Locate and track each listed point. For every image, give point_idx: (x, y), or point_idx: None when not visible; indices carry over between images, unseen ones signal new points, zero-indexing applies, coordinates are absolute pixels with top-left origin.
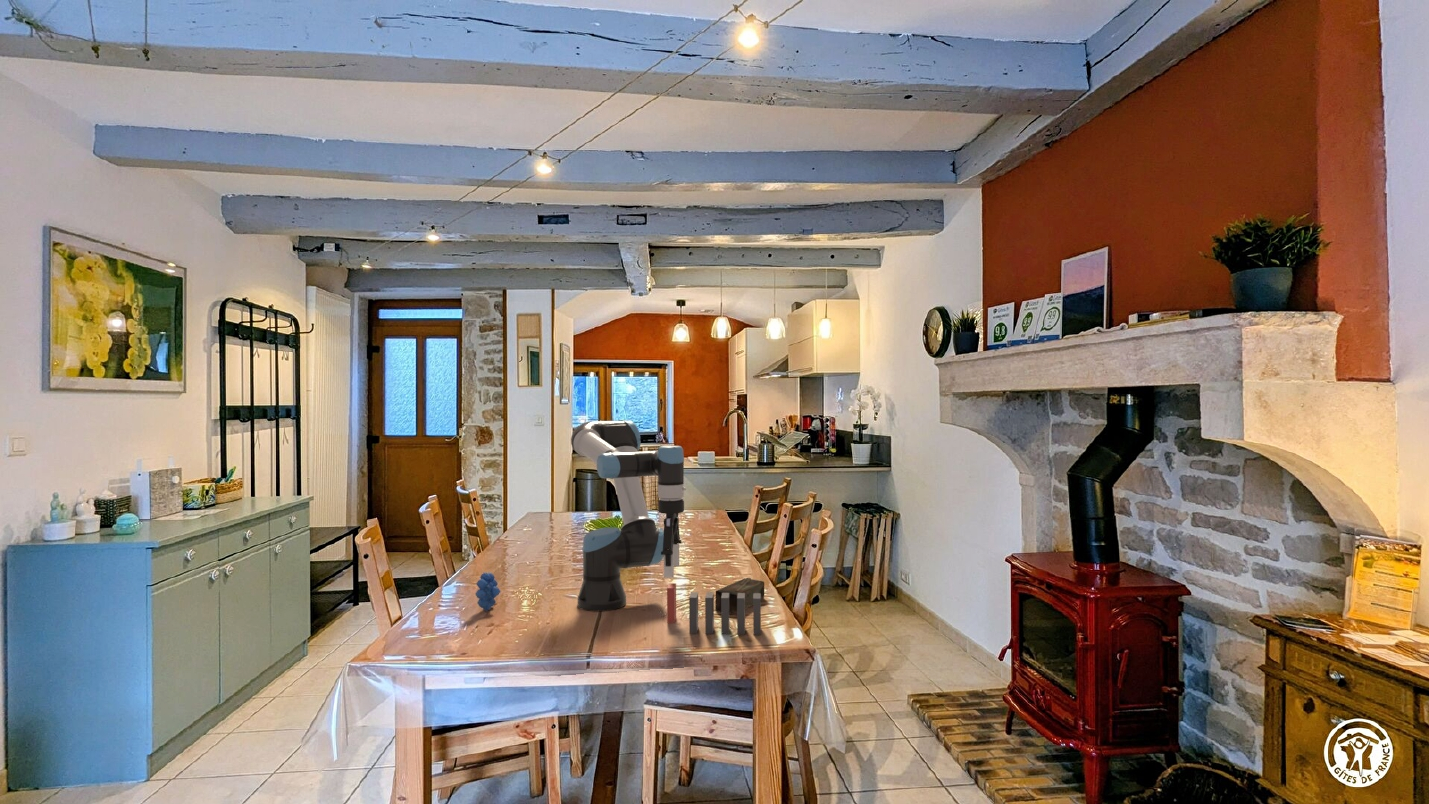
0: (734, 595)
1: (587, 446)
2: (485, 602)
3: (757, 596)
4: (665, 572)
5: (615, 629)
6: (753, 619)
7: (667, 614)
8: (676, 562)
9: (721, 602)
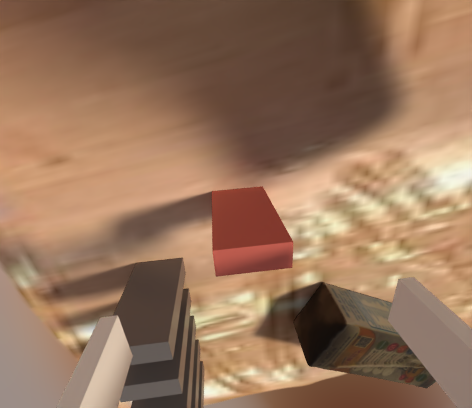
0: (310, 361)
1: None
2: None
3: None
4: (89, 356)
5: (103, 24)
6: None
7: (212, 201)
8: (407, 328)
9: (133, 402)
